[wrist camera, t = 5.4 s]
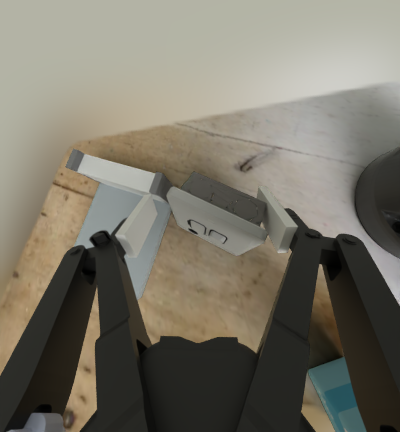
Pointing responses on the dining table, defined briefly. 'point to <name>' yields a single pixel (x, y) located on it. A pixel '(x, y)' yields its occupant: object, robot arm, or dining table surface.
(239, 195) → the electrical switch
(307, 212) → the dining table surface
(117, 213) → the rail board
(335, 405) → the data package
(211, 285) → the dining table surface
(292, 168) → the dining table surface
